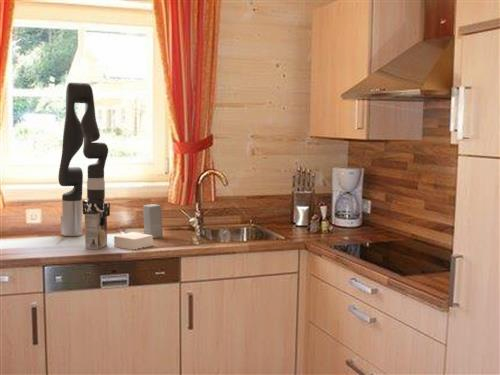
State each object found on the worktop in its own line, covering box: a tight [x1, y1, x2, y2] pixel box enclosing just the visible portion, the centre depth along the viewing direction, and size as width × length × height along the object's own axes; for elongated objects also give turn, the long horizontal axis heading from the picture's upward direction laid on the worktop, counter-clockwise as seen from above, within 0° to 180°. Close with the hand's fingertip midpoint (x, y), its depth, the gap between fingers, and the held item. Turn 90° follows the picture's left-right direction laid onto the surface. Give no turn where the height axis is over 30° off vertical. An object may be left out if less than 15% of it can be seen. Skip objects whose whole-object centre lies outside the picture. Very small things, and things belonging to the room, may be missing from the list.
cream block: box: [113, 231, 154, 251], centre depth 261 cm, size 12×12×5 cm
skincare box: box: [142, 203, 164, 239], centre depth 283 cm, size 8×7×16 cm
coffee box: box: [84, 211, 108, 250], centre depth 256 cm, size 9×6×16 cm
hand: (96, 224), depth 256 cm, fingers closed on coffee box, 7 cm apart
